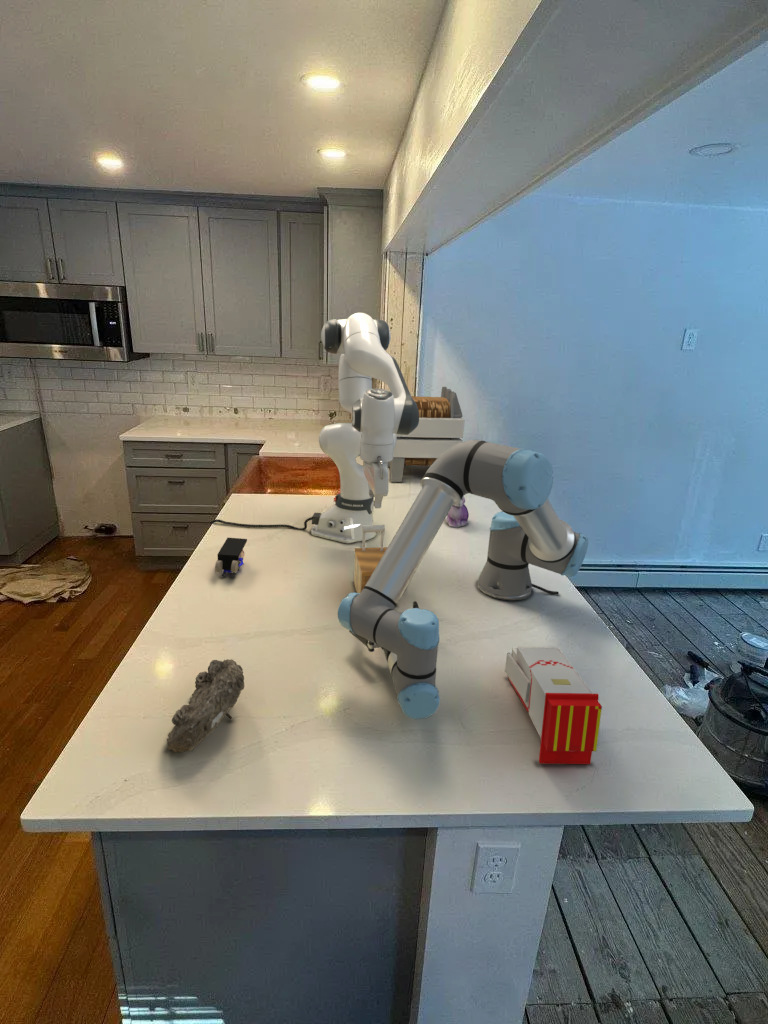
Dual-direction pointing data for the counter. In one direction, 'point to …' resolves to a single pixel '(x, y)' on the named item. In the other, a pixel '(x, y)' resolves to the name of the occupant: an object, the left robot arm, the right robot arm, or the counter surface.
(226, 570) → the figurine character
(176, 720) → the grey brown lumpy piece
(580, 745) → the toy
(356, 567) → the chest
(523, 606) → the counter surface
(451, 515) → the figurine
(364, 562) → the lid
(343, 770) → the counter surface
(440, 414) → the transformer
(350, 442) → the left robot arm
